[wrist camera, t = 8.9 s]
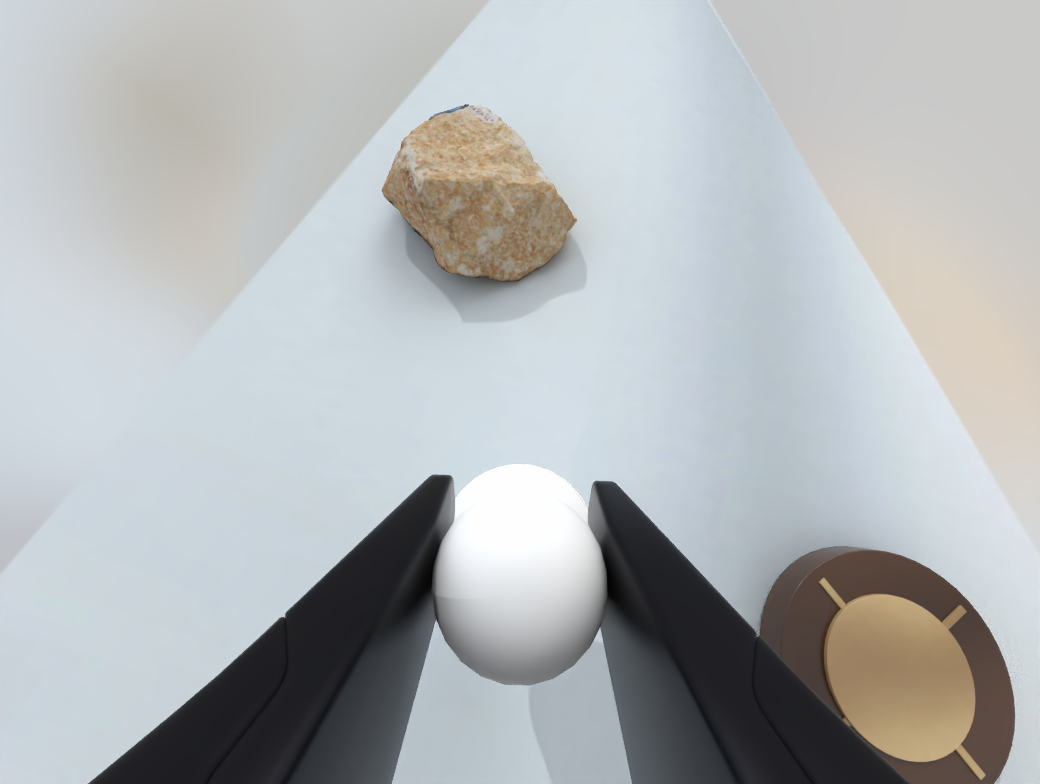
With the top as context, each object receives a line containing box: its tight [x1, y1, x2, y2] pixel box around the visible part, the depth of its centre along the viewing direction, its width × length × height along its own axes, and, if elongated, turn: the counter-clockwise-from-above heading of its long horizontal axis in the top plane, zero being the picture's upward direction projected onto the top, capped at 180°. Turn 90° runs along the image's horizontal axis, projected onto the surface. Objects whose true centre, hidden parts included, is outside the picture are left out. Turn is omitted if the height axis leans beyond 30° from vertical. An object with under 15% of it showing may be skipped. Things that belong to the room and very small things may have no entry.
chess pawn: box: [431, 464, 608, 685], centre depth 9 cm, size 5×5×9 cm
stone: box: [382, 104, 577, 281], centre depth 22 cm, size 8×10×4 cm
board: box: [760, 546, 1015, 784], centre depth 17 cm, size 10×10×2 cm
